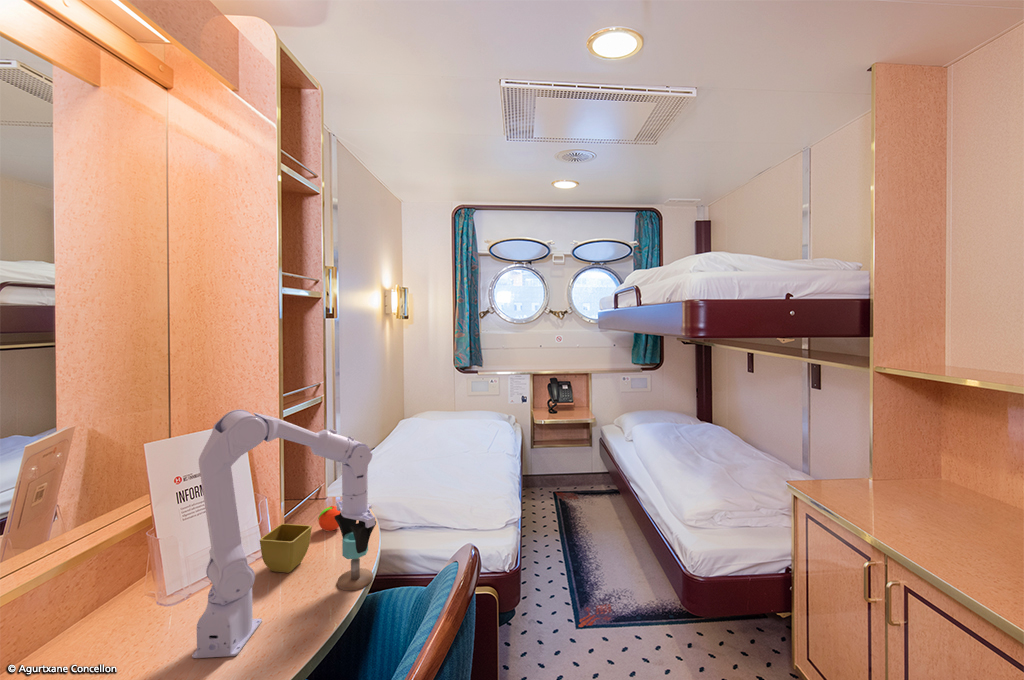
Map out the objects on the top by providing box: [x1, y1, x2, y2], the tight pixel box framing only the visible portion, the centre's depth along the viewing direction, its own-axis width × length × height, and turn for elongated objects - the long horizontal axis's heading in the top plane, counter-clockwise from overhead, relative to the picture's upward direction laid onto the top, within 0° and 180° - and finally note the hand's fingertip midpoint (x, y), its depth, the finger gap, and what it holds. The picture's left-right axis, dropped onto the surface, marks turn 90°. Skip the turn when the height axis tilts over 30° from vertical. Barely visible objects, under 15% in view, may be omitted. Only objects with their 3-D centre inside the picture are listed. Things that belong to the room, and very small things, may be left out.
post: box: [337, 558, 374, 592], centre depth 101 cm, size 8×8×5 cm
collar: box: [341, 532, 369, 560], centre depth 101 cm, size 5×5×4 cm
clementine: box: [317, 505, 341, 532], centre depth 126 cm, size 8×7×7 cm
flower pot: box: [259, 523, 313, 573], centre depth 106 cm, size 9×9×9 cm
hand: (355, 547), depth 101 cm, fingers closed on collar, 5 cm apart
